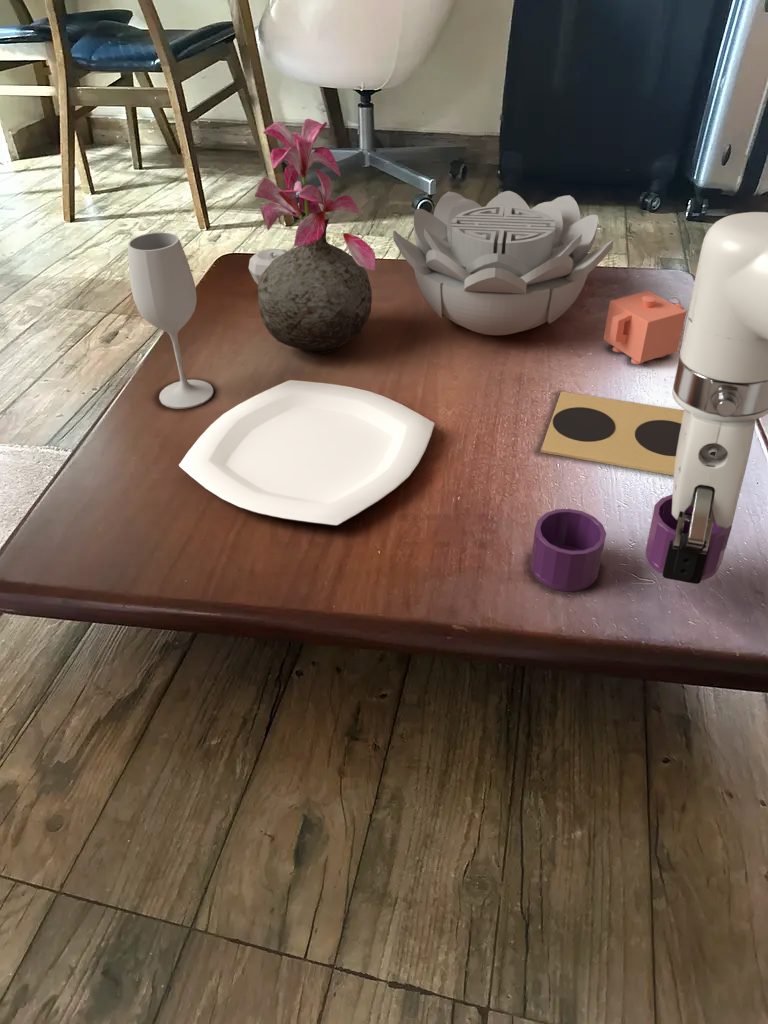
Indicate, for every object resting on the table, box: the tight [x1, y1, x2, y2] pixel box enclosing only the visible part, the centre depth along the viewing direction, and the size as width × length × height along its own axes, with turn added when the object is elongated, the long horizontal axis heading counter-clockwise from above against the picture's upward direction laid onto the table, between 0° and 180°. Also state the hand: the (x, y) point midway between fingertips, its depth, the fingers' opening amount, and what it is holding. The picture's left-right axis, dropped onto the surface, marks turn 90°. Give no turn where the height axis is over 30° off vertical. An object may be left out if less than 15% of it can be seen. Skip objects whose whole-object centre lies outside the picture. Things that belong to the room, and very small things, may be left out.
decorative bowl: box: [392, 190, 614, 336], centre depth 115 cm, size 30×30×15 cm
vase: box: [254, 118, 377, 355], centre depth 107 cm, size 17×17×30 cm
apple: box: [248, 248, 288, 286], centre depth 129 cm, size 8×8×7 cm
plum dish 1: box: [530, 508, 607, 592], centre depth 77 cm, size 7×7×5 cm
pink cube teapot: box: [603, 290, 688, 365], centre depth 109 cm, size 8×12×8 cm, turn 116°
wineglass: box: [127, 231, 214, 410], centre depth 99 cm, size 8×8×21 cm
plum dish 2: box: [644, 493, 733, 581], centre depth 71 cm, size 7×7×5 cm
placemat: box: [540, 391, 684, 477], centre depth 96 cm, size 18×14×1 cm
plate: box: [178, 379, 435, 527], centre depth 93 cm, size 27×27×2 cm
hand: (683, 551), depth 72 cm, fingers closed on plum dish 2, 6 cm apart
